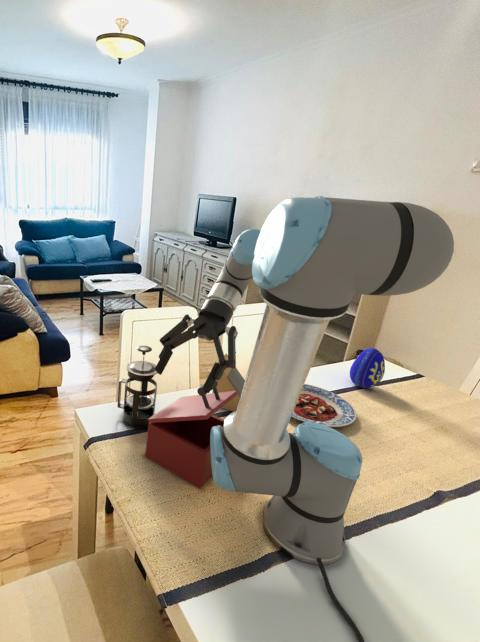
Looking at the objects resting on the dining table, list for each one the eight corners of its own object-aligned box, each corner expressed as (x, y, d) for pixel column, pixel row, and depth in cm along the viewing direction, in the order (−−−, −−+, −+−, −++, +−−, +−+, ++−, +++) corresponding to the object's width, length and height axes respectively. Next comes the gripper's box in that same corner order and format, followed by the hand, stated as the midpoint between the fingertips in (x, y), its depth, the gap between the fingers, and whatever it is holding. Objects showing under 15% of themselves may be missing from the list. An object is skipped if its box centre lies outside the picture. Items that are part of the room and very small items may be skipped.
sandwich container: (258, 420, 115) (268, 376, 109) (210, 403, 122) (217, 361, 117) (265, 408, 122) (275, 365, 116) (218, 392, 129) (225, 352, 124)
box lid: (238, 394, 92) (230, 371, 92) (207, 419, 82) (198, 393, 81) (182, 400, 104) (175, 380, 104) (149, 423, 93) (141, 400, 93)
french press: (159, 415, 115) (167, 344, 106) (151, 432, 107) (159, 358, 98) (122, 406, 118) (127, 337, 110) (112, 422, 110) (116, 349, 101)
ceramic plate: (374, 427, 115) (377, 419, 114) (301, 436, 109) (303, 428, 108) (315, 385, 138) (317, 378, 137) (251, 390, 132) (253, 383, 131)
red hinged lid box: (230, 457, 99) (236, 425, 95) (200, 489, 88) (206, 453, 84) (177, 430, 108) (181, 400, 104) (145, 456, 97) (148, 422, 94)
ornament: (362, 394, 134) (376, 355, 128) (339, 382, 141) (351, 345, 136) (383, 389, 138) (397, 351, 132) (360, 378, 146) (372, 341, 140)
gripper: (271, 325, 90) (233, 405, 84) (182, 305, 105) (145, 371, 99) (266, 307, 85) (225, 392, 79) (173, 288, 100) (133, 358, 94)
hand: (180, 380), depth 89 cm, fingers open, 12 cm apart
